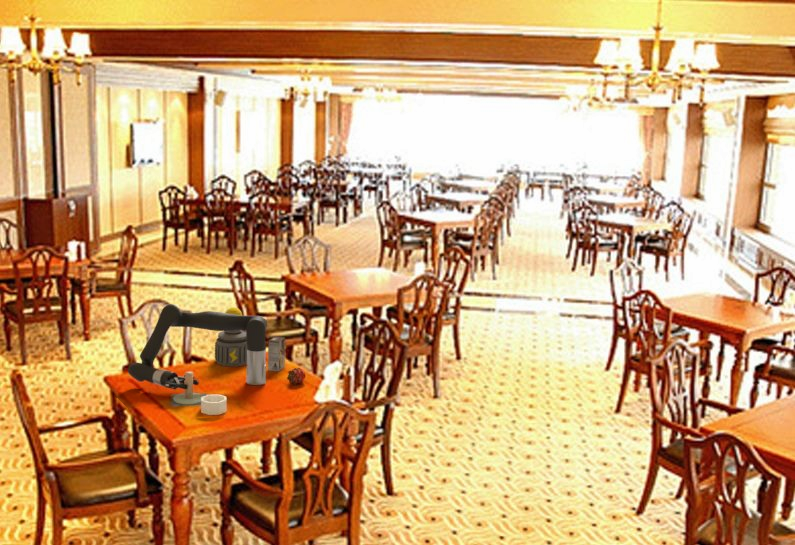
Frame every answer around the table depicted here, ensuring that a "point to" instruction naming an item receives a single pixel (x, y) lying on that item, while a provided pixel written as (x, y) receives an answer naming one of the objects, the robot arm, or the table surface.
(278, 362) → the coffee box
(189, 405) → the mat
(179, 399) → the lid
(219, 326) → the robot arm
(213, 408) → the bowl
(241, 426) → the table surface
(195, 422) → the table surface
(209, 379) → the table surface
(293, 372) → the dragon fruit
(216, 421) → the table surface
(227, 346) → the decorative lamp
